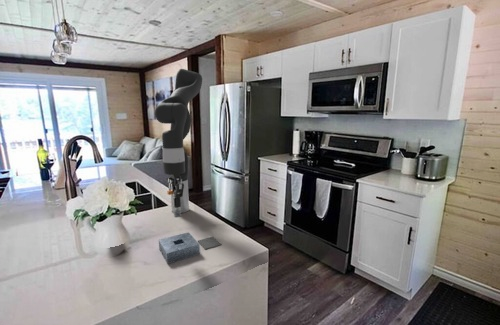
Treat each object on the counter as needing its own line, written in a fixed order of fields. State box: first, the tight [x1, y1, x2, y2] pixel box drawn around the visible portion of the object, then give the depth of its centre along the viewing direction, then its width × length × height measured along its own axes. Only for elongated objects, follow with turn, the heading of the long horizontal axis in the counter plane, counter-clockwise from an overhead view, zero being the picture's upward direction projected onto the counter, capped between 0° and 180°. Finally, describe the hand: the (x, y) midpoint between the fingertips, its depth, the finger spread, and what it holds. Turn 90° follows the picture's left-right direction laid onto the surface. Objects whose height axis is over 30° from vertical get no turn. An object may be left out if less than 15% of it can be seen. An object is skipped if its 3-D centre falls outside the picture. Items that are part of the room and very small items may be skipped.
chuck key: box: [166, 188, 182, 218], centre depth 96 cm, size 5×2×11 cm, turn 136°
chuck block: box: [158, 232, 201, 265], centre depth 99 cm, size 12×12×4 cm
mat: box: [197, 236, 222, 250], centre depth 106 cm, size 8×7×1 cm
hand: (176, 205), depth 96 cm, fingers closed on chuck key, 2 cm apart
